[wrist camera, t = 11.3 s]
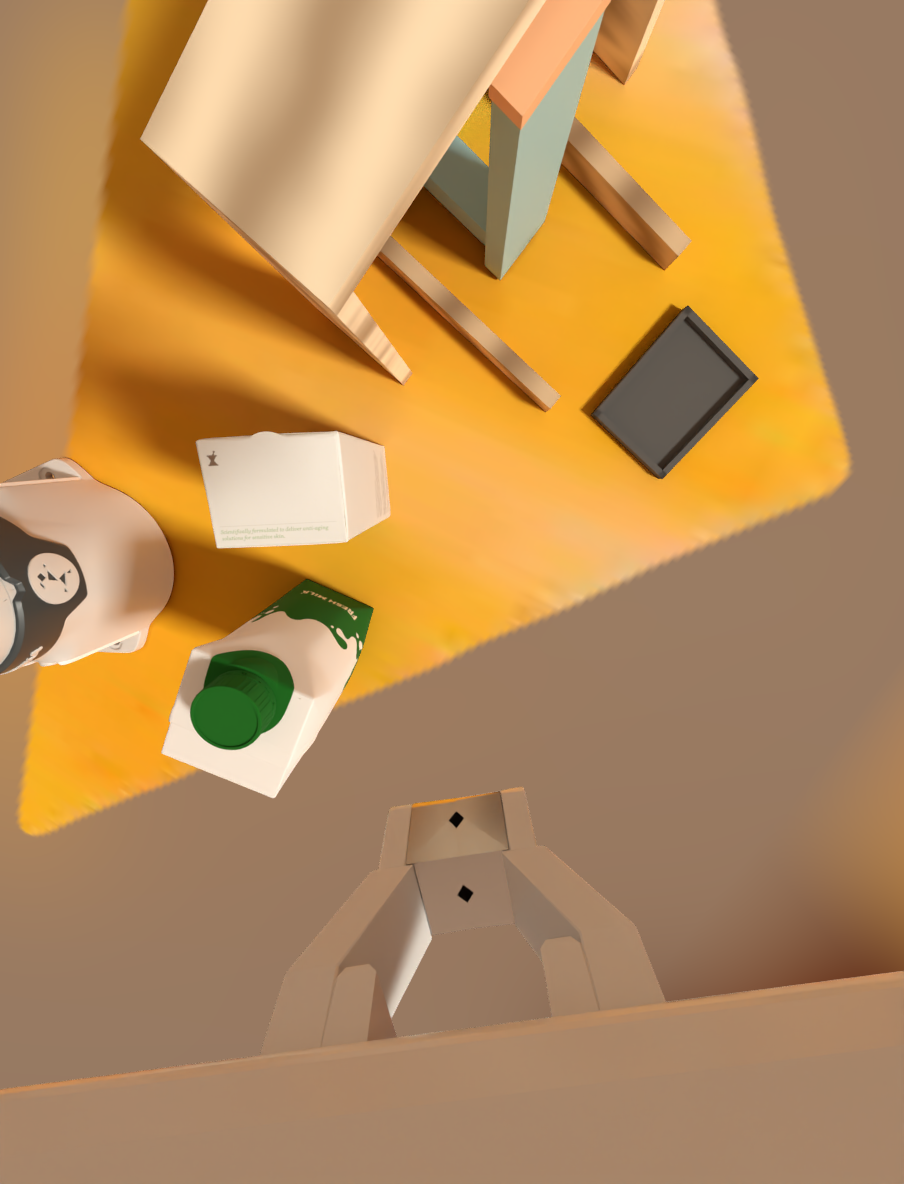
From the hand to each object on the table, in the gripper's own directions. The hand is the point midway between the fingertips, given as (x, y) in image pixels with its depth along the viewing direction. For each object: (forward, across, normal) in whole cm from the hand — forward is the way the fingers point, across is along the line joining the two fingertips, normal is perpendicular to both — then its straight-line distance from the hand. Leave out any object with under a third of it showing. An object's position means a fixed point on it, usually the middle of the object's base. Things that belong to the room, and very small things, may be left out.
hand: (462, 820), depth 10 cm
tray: (+32, -20, -9) cm, 39 cm away
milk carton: (+34, +13, +6) cm, 37 cm away
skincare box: (+34, +8, -7) cm, 35 cm away
